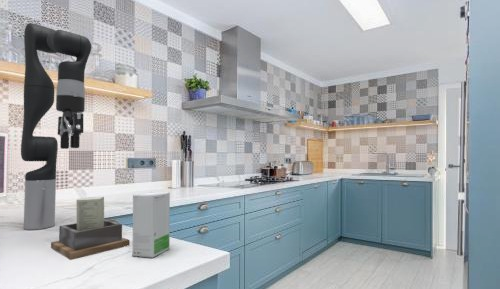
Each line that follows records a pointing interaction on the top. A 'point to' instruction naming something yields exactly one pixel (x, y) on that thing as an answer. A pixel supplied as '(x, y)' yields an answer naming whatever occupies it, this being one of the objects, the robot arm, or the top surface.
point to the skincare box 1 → (90, 213)
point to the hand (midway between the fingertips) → (69, 148)
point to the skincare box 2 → (151, 224)
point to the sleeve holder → (89, 240)
